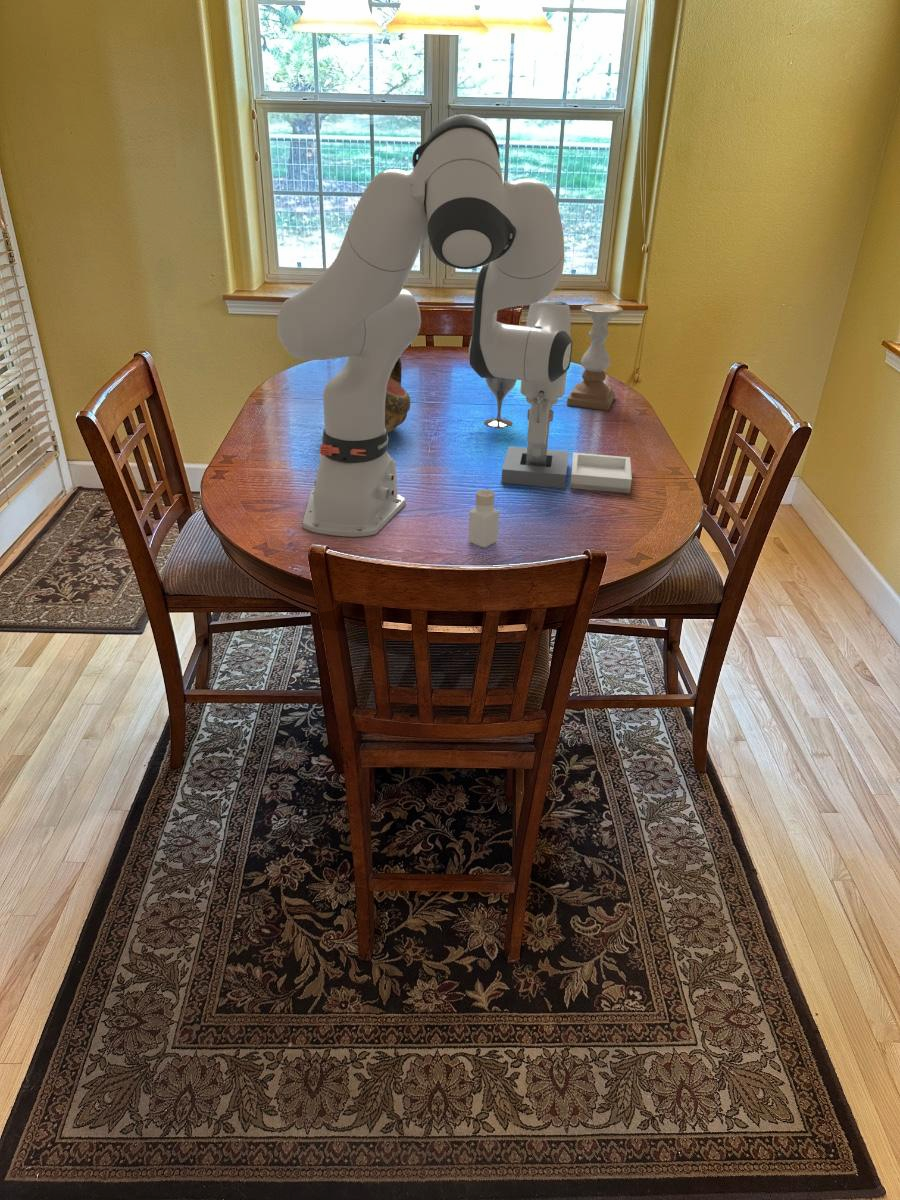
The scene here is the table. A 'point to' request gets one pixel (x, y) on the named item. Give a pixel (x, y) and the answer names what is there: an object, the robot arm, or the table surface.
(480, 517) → the pepper shaker
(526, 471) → the holder block
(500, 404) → the wine glass
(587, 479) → the tray
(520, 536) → the table surface
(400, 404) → the ceramic vessel
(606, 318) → the candle holder
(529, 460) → the pin
